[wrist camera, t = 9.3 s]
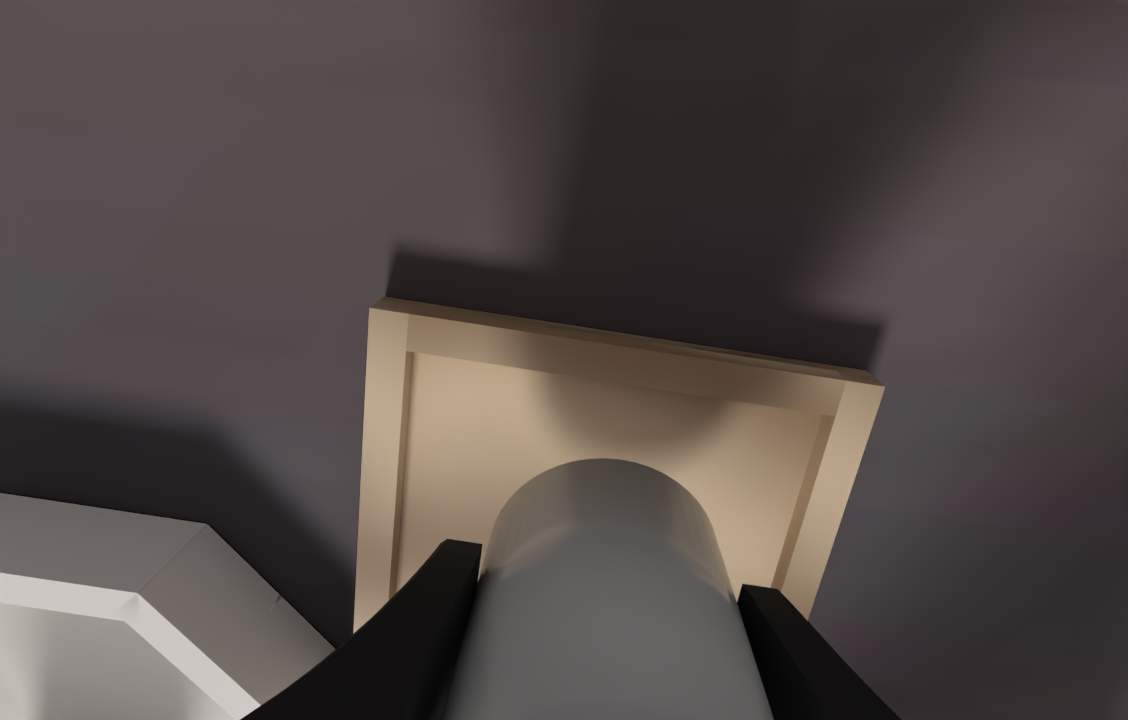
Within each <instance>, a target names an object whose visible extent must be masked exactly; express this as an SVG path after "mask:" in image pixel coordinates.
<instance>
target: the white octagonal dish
mask: <svg viewBox="0 0 1128 720" xmlns="http://www.w3.org/2000/svg"><path fill="white" fill-rule="evenodd" d="M334 650H336V649H335V648H334V647H333V646H332V645H331V644H330V643H329V642H328V641H327V640H326V639H325V638H324V637H323V636H322V635H321V634H320V633H319V632H317V631H316V630H315V629H314V628H313V627H312V626H311V625H310V624H309V623H308V622H307V621H306V620H305V619H304V618H303V617H302V616H301V615H300V614H299V613H298V612H297V611H296V610H295V609H294V608H293V607H292V606H291V605H290V604H289V603H288V602H287V601H286V600H285V599H284V598H283V597H282V596H281V595H280V594H279V593H278V592H276V591H275V590H274V589H273V588H272V587H271V586H270V585H269V584H268V583H267V582H266V581H265V580H264V579H263V578H262V577H261V576H260V575H259V574H258V573H257V572H256V571H255V570H254V569H253V568H252V567H251V566H250V565H249V564H248V563H247V562H246V561H245V560H244V559H243V558H242V557H241V556H240V555H239V554H238V553H237V552H235V551H234V550H233V549H232V548H231V547H230V546H229V545H228V544H227V543H226V542H225V541H224V540H223V539H222V538H221V537H220V536H219V535H218V534H217V533H216V532H215V531H214V530H213V529H212V528H211V527H210V526H209V525H208V524H204V523H198V522H191V521H184V520H178V519H171V518H164V517H158V516H151V515H144V514H138V513H131V512H124V511H118V510H111V509H104V508H98V507H91V506H84V505H78V504H71V503H64V502H58V501H51V500H44V499H38V498H31V497H24V496H18V495H11V494H4V493H0V720H240V719H242V718H243V717H245V716H246V715H248V714H249V713H251V712H252V711H253V710H255V709H256V708H258V707H259V706H261V705H262V704H264V703H265V702H267V701H268V700H270V699H271V698H273V697H274V696H276V695H277V694H278V693H280V692H281V691H283V690H284V689H285V688H287V687H288V686H290V685H291V684H292V683H294V682H295V681H296V680H298V679H299V678H300V677H302V676H303V675H304V674H306V673H307V672H308V671H310V670H311V669H312V668H313V667H315V666H316V665H317V664H318V663H320V662H321V661H322V660H323V659H325V658H326V657H327V656H328V655H329V654H331V653H332V652H333V651H334Z"/></svg>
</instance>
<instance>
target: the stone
mask: <svg viewBox="0 0 1128 720" xmlns="http://www.w3.org/2000/svg"><path fill="white" fill-rule="evenodd" d="M441 720H774V718H773V715H772V712H771V709H770V706H769V703H768V699H767V696H766V693H765V690H764V687H763V684H762V680H761V677H760V674H759V671H758V668H757V665H756V661H755V658H754V655H753V652H752V649H751V646H750V643H749V639H748V636H747V633H746V630H745V627H744V624H743V620H742V617H741V614H740V611H739V608H738V605H737V601H736V598H735V595H734V592H733V589H732V586H731V583H730V579H729V576H728V573H727V570H726V567H725V564H724V560H723V557H722V554H721V551H720V548H719V545H718V541H717V538H716V535H715V532H714V529H713V526H712V524H711V522H710V520H709V518H708V516H707V514H706V512H705V511H704V509H703V508H702V506H701V505H700V503H699V502H698V501H697V500H696V499H695V498H694V496H693V495H692V494H691V493H690V492H689V491H688V490H687V489H685V488H684V487H683V486H682V485H681V484H679V483H678V482H677V481H675V480H674V479H672V478H670V477H669V476H667V475H666V474H664V473H662V472H660V471H658V470H655V469H653V468H651V467H648V466H645V465H642V464H639V463H636V462H631V461H626V460H621V459H609V458H596V459H584V460H578V461H572V462H569V463H565V464H562V465H558V466H556V467H553V468H551V469H549V470H546V471H544V472H542V473H541V474H539V475H537V476H536V477H534V478H532V479H530V480H529V481H528V482H527V483H525V484H524V485H523V486H522V487H520V488H519V489H518V490H517V491H516V492H515V493H514V494H513V495H512V496H511V497H510V498H509V500H508V501H507V502H506V504H505V505H504V507H503V508H502V509H501V511H500V513H499V515H498V517H497V519H496V521H495V523H494V526H493V529H492V532H491V535H490V538H489V542H488V546H487V550H486V553H485V557H484V561H483V564H482V568H481V572H480V576H479V579H478V583H477V587H476V590H475V594H474V598H473V602H472V605H471V609H470V613H469V616H468V620H467V624H466V628H465V631H464V635H463V639H462V643H461V646H460V650H459V654H458V657H457V661H456V665H455V669H454V672H453V676H452V680H451V683H450V687H449V691H448V695H447V698H446V702H445V706H444V709H443V713H442V717H441Z"/></svg>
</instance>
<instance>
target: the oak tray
mask: <svg viewBox="0 0 1128 720" xmlns="http://www.w3.org/2000/svg"><path fill="white" fill-rule="evenodd" d="M884 389H885V386H884V385H883V384H882V383H880V382H879V381H878V380H877V379H876V378H874V377H873V376H872V375H871V374H870V373H868V372H867V371H866V370H861V369H854V368H848V367H841V366H835V365H828V364H822V363H815V362H809V361H802V360H796V359H789V358H783V357H776V356H769V355H763V354H756V353H750V352H743V351H737V350H730V349H724V348H717V347H711V346H704V345H698V344H691V343H685V342H678V341H671V340H665V339H658V338H652V337H645V336H639V335H632V334H626V333H619V332H613V331H606V330H600V329H593V328H587V327H580V326H574V325H567V324H560V323H554V322H547V321H541V320H534V319H528V318H521V317H515V316H508V315H502V314H495V313H489V312H482V311H476V310H469V309H462V308H456V307H449V306H443V305H436V304H430V303H423V302H417V301H410V300H404V299H397V298H391V297H383V298H382V299H381V300H379V301H378V302H377V303H375V304H374V305H373V306H371V307H370V308H369V326H368V346H367V366H366V386H365V407H364V427H363V447H362V467H361V487H360V508H359V528H358V548H357V568H356V588H355V609H354V629H353V634H354V633H355V632H356V631H357V630H358V629H359V628H360V627H362V626H363V625H364V624H365V623H366V622H367V621H368V620H369V619H371V618H372V617H373V616H374V615H375V614H376V613H377V612H378V611H379V610H380V609H381V608H382V607H383V606H384V605H385V604H386V603H387V602H388V601H389V600H390V599H391V598H392V597H393V596H394V595H395V594H396V593H397V592H398V591H399V590H400V589H401V588H402V587H403V586H404V585H405V584H406V583H407V582H408V580H409V579H410V578H411V577H412V576H413V575H414V574H415V573H416V572H417V571H418V570H419V568H420V567H421V566H422V565H423V564H424V563H425V562H426V560H427V559H428V558H429V557H430V556H431V554H432V553H433V552H434V551H435V549H436V548H437V547H438V546H439V544H440V543H442V542H443V541H445V540H446V539H453V540H460V541H466V542H473V543H479V544H482V551H481V559H480V567H479V575H478V579H479V576H480V572H481V568H482V564H483V561H484V557H485V553H486V550H487V546H488V542H489V538H490V535H491V532H492V529H493V526H494V523H495V521H496V519H497V517H498V515H499V513H500V511H501V509H502V508H503V507H504V505H505V504H506V502H507V501H508V500H509V498H510V497H511V496H512V495H513V494H514V493H515V492H516V491H517V490H518V489H519V488H520V487H522V486H523V485H524V484H525V483H527V482H528V481H529V480H530V479H532V478H534V477H536V476H537V475H539V474H541V473H542V472H544V471H546V470H549V469H551V468H553V467H556V466H558V465H562V464H565V463H569V462H572V461H578V460H584V459H596V458H609V459H621V460H626V461H631V462H636V463H639V464H642V465H645V466H648V467H651V468H653V469H655V470H658V471H660V472H662V473H664V474H666V475H667V476H669V477H670V478H672V479H674V480H675V481H677V482H678V483H679V484H681V485H682V486H683V487H684V488H685V489H687V490H688V491H689V492H690V493H691V494H692V495H693V496H694V498H695V499H696V500H697V501H698V502H699V503H700V505H701V506H702V508H703V509H704V511H705V512H706V514H707V516H708V518H709V520H710V522H711V524H712V526H713V529H714V532H715V535H716V538H717V541H718V545H719V548H720V551H721V554H722V557H723V560H724V564H725V567H726V570H727V573H728V576H729V579H730V583H731V586H732V589H733V592H734V595H735V598H736V601H738V597H739V594H740V590H741V587H742V584H748V585H755V586H762V587H768V588H775V589H778V590H779V591H780V592H781V593H782V594H783V595H784V596H785V597H786V598H787V599H788V600H789V601H790V602H791V603H792V604H793V605H794V607H795V608H796V609H797V610H798V611H799V612H800V613H801V614H802V615H803V616H804V617H805V619H806V620H807V621H808V618H809V615H810V612H811V609H812V606H813V603H814V600H815V597H816V594H817V591H818V588H819V585H820V582H821V579H822V576H823V573H824V570H825V567H826V564H827V561H828V558H829V555H830V552H831V549H832V546H833V543H834V540H835V537H836V534H837V531H838V528H839V525H840V522H841V519H842V516H843V513H844V510H845V507H846V504H847V501H848V498H849V495H850V492H851V489H852V486H853V483H854V480H855V477H856V474H857V471H858V468H859V465H860V462H861V459H862V456H863V453H864V450H865V447H866V444H867V441H868V438H869V435H870V432H871V429H872V426H873V422H874V419H875V416H876V413H877V410H878V407H879V404H880V401H881V398H882V395H883V392H884Z"/></svg>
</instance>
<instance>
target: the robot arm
mask: <svg viewBox="0 0 1128 720" xmlns="http://www.w3.org/2000/svg"><path fill="white" fill-rule="evenodd" d="M481 551H482V544H479V543H473V542H466V541H460V540H453V539H446V540H445V541H443V542H442V543H440V544H439V546H438V547H437V548H436V549H435V551H434V552H433V553H432V554H431V556H430V557H429V558H428V559H427V560H426V562H425V563H424V564H423V565H422V566H421V567H420V568H419V570H418V571H417V572H416V573H415V574H414V575H413V576H412V577H411V578H410V579H409V580H408V582H407V583H406V584H405V585H404V586H403V587H402V588H401V589H400V590H399V591H398V592H397V593H396V594H395V595H394V596H393V597H392V598H391V599H390V600H389V601H388V602H387V603H386V604H385V605H384V606H383V607H382V608H381V609H380V610H379V611H378V612H377V613H376V614H375V615H374V616H373V617H372V618H371V619H369V620H368V621H367V622H366V623H365V624H364V625H363V626H362V627H360V628H359V629H358V630H357V631H356V632H355V633H354V634H353V635H351V636H350V637H349V638H348V639H347V640H346V641H345V642H344V643H342V644H341V645H340V646H339V647H338V648H337V649H336V650H334V651H333V652H332V653H331V654H329V655H328V656H327V657H326V658H325V659H323V660H322V661H321V662H320V663H318V664H317V665H316V666H315V667H313V668H312V669H311V670H310V671H308V672H307V673H306V674H304V675H303V676H302V677H300V678H299V679H298V680H296V681H295V682H294V683H292V684H291V685H290V686H288V687H287V688H285V689H284V690H283V691H281V692H280V693H278V694H277V695H276V696H274V697H273V698H271V699H270V700H268V701H267V702H265V703H264V704H262V705H261V706H259V707H258V708H256V709H255V710H253V711H252V712H251V713H249V714H248V715H246V716H245V717H243V718H242V719H240V720H441V717H442V713H443V709H444V706H445V702H446V698H447V695H448V691H449V687H450V683H451V680H452V676H453V672H454V669H455V665H456V661H457V657H458V654H459V650H460V646H461V643H462V639H463V635H464V631H465V628H466V624H467V620H468V616H469V613H470V609H471V605H472V602H473V598H474V594H475V590H476V587H477V583H478V575H479V567H480V559H481ZM737 605H738V608H739V611H740V614H741V617H742V620H743V624H744V627H745V630H746V633H747V636H748V639H749V643H750V646H751V649H752V652H753V655H754V658H755V661H756V665H757V668H758V671H759V674H760V677H761V680H762V684H763V687H764V690H765V693H766V696H767V699H768V703H769V706H770V709H771V712H772V715H773V718H774V720H901V719H900V718H899V717H898V716H897V715H896V714H895V713H894V712H893V711H892V710H891V709H890V708H889V707H888V706H887V705H886V704H885V703H884V702H883V701H882V700H881V699H880V698H879V697H878V696H877V695H876V694H875V693H874V692H873V691H872V690H871V689H870V688H869V687H868V686H867V685H866V684H865V683H864V682H863V680H862V679H861V678H860V677H859V676H858V675H857V674H856V673H855V672H854V671H853V670H852V669H851V668H850V667H849V666H848V665H847V664H846V662H845V661H844V660H843V659H842V658H841V657H840V656H839V655H838V654H837V653H836V652H835V651H834V649H833V648H832V647H831V646H830V645H829V644H828V643H827V642H826V641H825V640H824V638H823V637H822V636H821V635H820V634H819V633H818V632H817V631H816V630H815V629H814V627H813V626H812V625H811V624H810V623H809V622H808V621H807V620H806V619H805V617H804V616H803V615H802V614H801V613H800V612H799V611H798V610H797V609H796V608H795V607H794V605H793V604H792V603H791V602H790V601H789V600H788V599H787V598H786V597H785V596H784V595H783V594H782V593H781V592H780V591H779V590H778V589H775V588H768V587H762V586H755V585H748V584H742V587H741V590H740V594H739V597H738V601H737Z"/></svg>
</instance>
